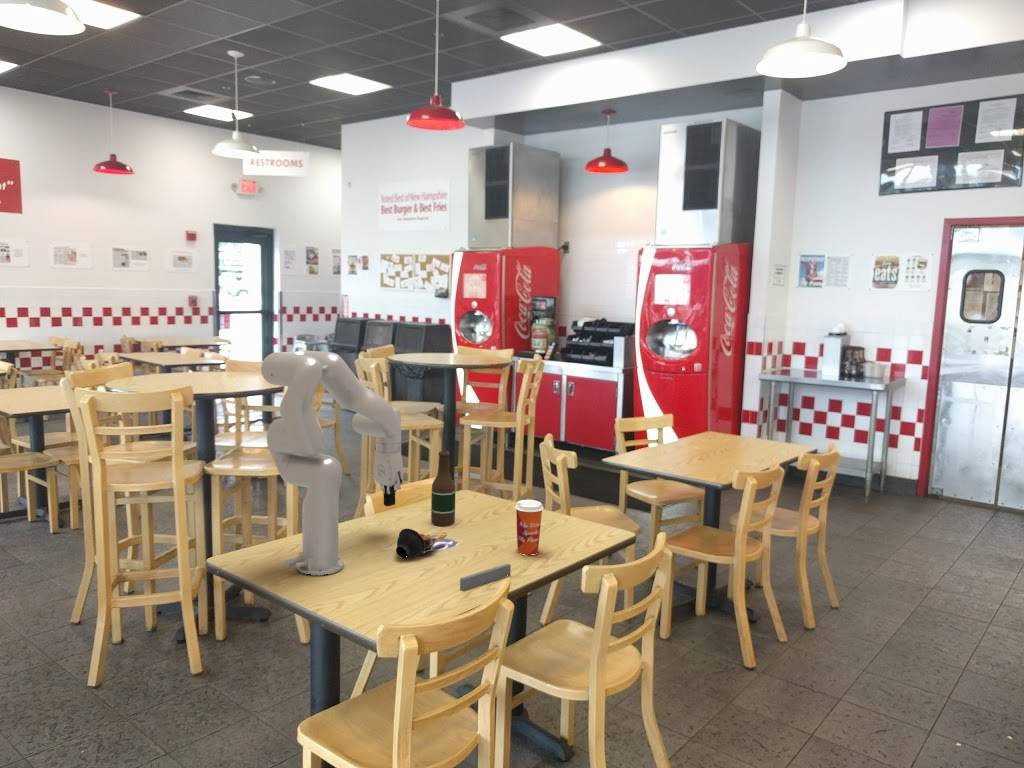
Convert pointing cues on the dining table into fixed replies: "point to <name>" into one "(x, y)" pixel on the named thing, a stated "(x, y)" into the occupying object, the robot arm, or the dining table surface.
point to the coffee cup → (528, 526)
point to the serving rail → (484, 577)
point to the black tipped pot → (415, 543)
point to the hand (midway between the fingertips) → (389, 504)
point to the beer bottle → (443, 494)
